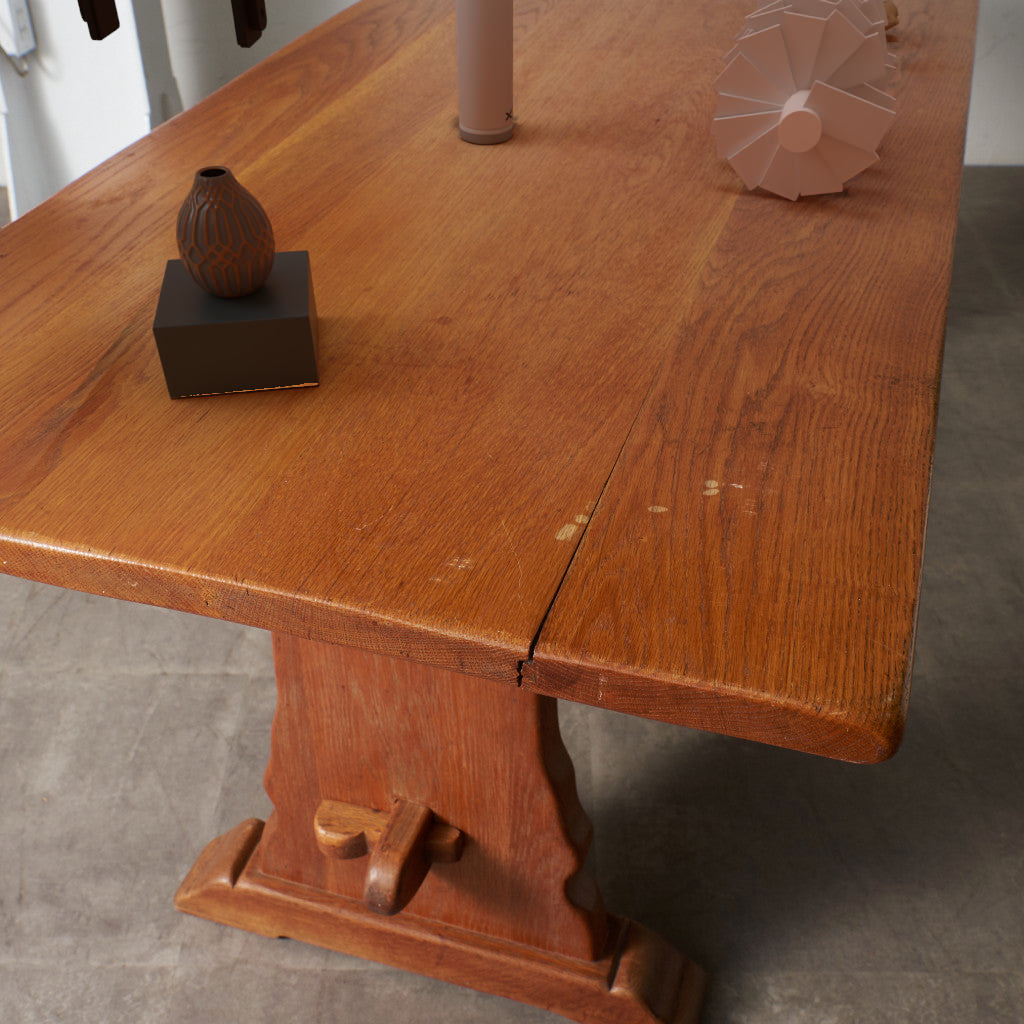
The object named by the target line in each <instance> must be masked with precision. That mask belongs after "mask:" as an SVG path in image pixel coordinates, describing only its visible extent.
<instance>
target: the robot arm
mask: <svg viewBox="0 0 1024 1024" xmlns="http://www.w3.org/2000/svg"><path fill="white" fill-rule="evenodd" d="M76 1H77V5H78V9H79V10H78V11H79V14H80V18H81V20H82V21H83V22H84V23H86V24H87V29H88V33H89V36H90V39H91V40H92V41H96V42H97V41H98V42H100V41H101V42H102V41H104V40H105V39H106V38H107V37H109V36H110V35H112V34H113V33H114V32H116V31H118V30H119V29H120V27H121V21H120V18H119V13H118V8H117V4H116V0H76ZM230 6H231V10H232V11H231V12H232V18H233V25H234V34H235V37H236V44H237V46H240V48H242V49H250V48H252V47H253V46H254V44H256V43H257V42H258V41H259V40H260V39H261V38H262V36H263V31H265V30H266V28H267V25H268V15H267V8H266V1H265V0H230Z"/></svg>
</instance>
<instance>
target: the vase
mask: <svg viewBox="0 0 1024 1024" xmlns="http://www.w3.org/2000/svg"><path fill="white" fill-rule="evenodd" d="M175 238H176V246H177V251H178V254H179V259H181V261H182V263H183V265H184V267H185V269H186V271H187V272H188V274H189V276H190V277H191V278H192V280H193V281H194V282H195V283H196V284H197V285H199V286H200V287H201V288H202V289H204V290H205V291H207V292H209V293H210V294H212V295H215V296H218V297H223V298H236V297H242V296H246V295H249V294H251V293H253V292H255V291H257V290H258V289H259V288H260V287H261V286H262V285H263V284H264V282H265V281H266V280H267V278H268V277H269V275H270V273H271V271H272V268H273V264H274V259H275V252H276V241H275V234H274V229H273V226H272V223H271V220H270V218H269V216H268V214H267V212H266V211H265V208H264V207H263V205H262V203H261V202H260V201H259V200H258V199H257V198H256V197H255V195H253V194H252V193H251V192H250V191H249V190H248V189H247V188H246V187H245V186H243V185H242V184H241V183H240V182H239V181H238V179H237V178H236V176H235V175H234V174H233V172H232V171H231V169H230V168H229V167H227V166H223V165H209V166H204V167H201V168H199V169H198V170H196V172H195V174H194V179H193V182H192V186H191V188H190V190H189V192H188V193H187V195H186V197H185V199H184V201H183V202H182V204H181V206H180V208H179V211H178V213H177V218H176V227H175Z"/></svg>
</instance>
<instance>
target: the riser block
mask: <svg viewBox="0 0 1024 1024" xmlns="http://www.w3.org/2000/svg"><path fill="white" fill-rule="evenodd" d="M317 325H318V312H317V305H316V295H315V290H314V282H313V275H312V267H311V260H310V254H309V250H308V249H305V250H304V249H303V250H291V251H275V259H274V264H273V268H272V271H271V273H270V275H269V277H268V278H267V280H266V281H265V282H264V284H263V285H262V286H261V287H260V288H259V289H258V290H257V291H255V292H253V293H251V294H249V295H246V296H242V297H236V298H223V297H218V296H215V295H212V294H210V293H209V292H207V291H205V290H204V289H202V288H201V287H200V286H199V285H197V284H196V283H195V282H194V281H193V280H192V278H191V277H190V276H189V274H188V272H187V271H186V269H185V267H184V265H183V263H182V261H181V258H175V259H167V261H166V265H165V270H164V274H163V280H162V283H161V287H160V292H159V296H158V301H157V305H156V310H155V315H154V317H153V322H152V328H151V329H152V334H153V337H154V341H155V346H156V349H157V352H158V357H159V361H160V364H161V368H162V372H163V376H164V380H165V384H166V387H167V392H168V396H169V398H170V397H171V398H173V399H175V398H174V397H181V396H190V395H192V396H193V395H197V394H199V395H202V394H212V393H225V392H233V391H243V390H255V389H264V388H275V387H279V386H280V387H285V386H292V385H300V384H304V383H318V382H319V383H320V370H318V369H320V368H318V361H319V333H318V332H319V331H318V328H319V327H318V326H319V325H318V326H317ZM171 398H170V399H171Z"/></svg>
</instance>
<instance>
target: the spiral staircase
mask: <svg viewBox="0 0 1024 1024" xmlns="http://www.w3.org/2000/svg"><path fill="white" fill-rule="evenodd" d="M755 1H756V4H757V7H758V8H757V9H756V10H755V11H754V12H753V13H751V14H750V13H749V14H748V15H746V16H744V21H745V24H743V26H742V27H741V28H740V29H739V30H738V32H737V33H736V35H734V37H733V41H735V42H736V44H735V45H734V47H732V48H731V50H729V52H727V53H726V54H725V55H724V56H723V57H722V59H721V61H722V62H723V63H724V64H725V65H726V67H725V68H724V69H723V71H721V73H720V74H719V75H718V76H717V78H716V79H715V80H713V82H712V83H711V87H712V88H713V89H714V90H716V92H717V93H718V95H717V100H716V103H715V106H714V107H715V109H714V112H713V117H712V121H711V125H710V130H709V135H712V136H713V135H714V138H715V149H716V157H717V158H716V159H717V160H724V159H726V161H727V162H728V164H729V165H730V167H731V168H732V169H733V170H734V171H735V173H736V174H737V176H738V177H739V178H740V179H741V181H742V182H743V183H744V185H745V186H746V187H747V189H748V190H749V191H752V190H754V189H756V188H757V187H759V188H760V189H764V190H766V191H768V192H771V193H773V194H775V195H778V196H780V197H783V198H785V199H788V200H790V201H793V202H796V201H797V199H798V198H799V195H800V197H805V196H812V195H814V196H815V195H823V194H833V193H841V192H843V191H844V189H843V187H844V186H843V184H844V183H846V182H847V181H849V180H850V179H852V178H854V177H855V176H857V175H858V174H860V173H861V172H862V171H864V170H866V169H867V168H869V167H871V166H872V165H873V164H875V163H876V162H878V161H880V157H879V155H878V153H877V152H876V150H877V148H878V146H879V144H880V143H881V141H882V139H883V138H884V137H885V134H886V132H887V131H888V129H889V127H890V126H891V124H892V122H893V121H894V118H895V117H896V116H897V112H895V111H893V110H891V109H892V107H894V104H896V101H897V98H896V97H893V96H892V95H890V94H888V93H886V92H887V89H888V88H889V85H890V82H891V80H892V78H893V76H894V73H895V71H896V69H897V66H894V63H895V62H896V60H897V57H898V56H897V55H895V54H893V53H890V52H889V51H888V42H887V36H886V35H887V34H886V31H885V26H887V25H888V20H887V16H886V12H885V8H884V3H883V1H884V0H755Z"/></svg>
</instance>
